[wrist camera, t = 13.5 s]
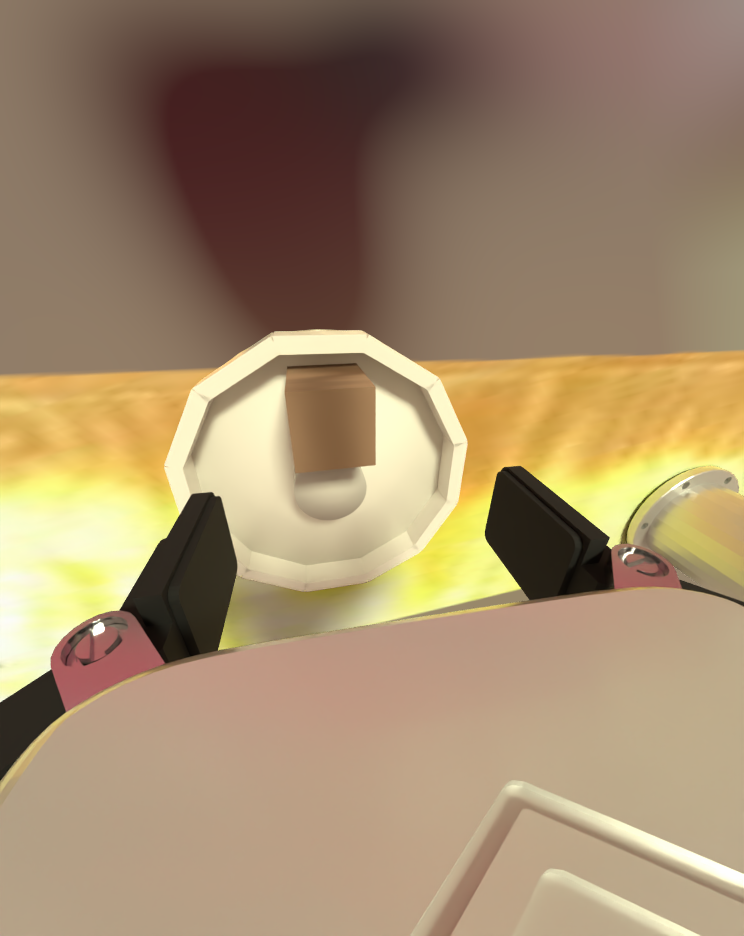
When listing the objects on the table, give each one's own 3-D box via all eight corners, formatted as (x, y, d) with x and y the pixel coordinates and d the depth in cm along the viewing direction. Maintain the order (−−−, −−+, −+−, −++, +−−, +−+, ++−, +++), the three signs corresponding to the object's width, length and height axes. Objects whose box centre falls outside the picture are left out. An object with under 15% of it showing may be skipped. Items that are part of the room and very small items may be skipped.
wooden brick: (356, 363, 21) (375, 386, 16) (358, 426, 24) (375, 465, 18) (287, 366, 21) (284, 392, 15) (295, 431, 23) (295, 473, 18)
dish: (463, 327, 23) (489, 333, 20) (434, 547, 32) (449, 574, 29) (144, 331, 19) (115, 340, 16) (218, 578, 29) (209, 612, 26)
